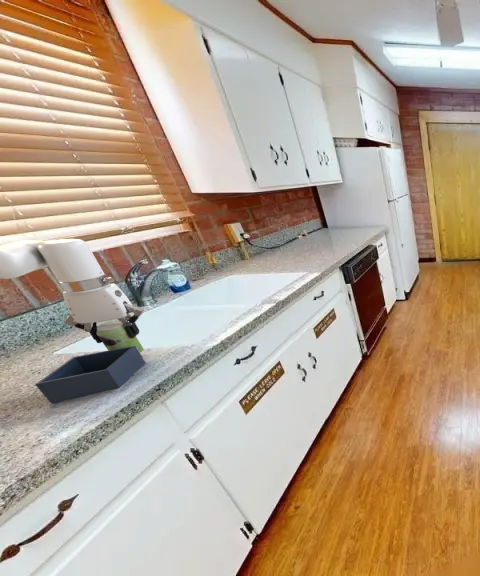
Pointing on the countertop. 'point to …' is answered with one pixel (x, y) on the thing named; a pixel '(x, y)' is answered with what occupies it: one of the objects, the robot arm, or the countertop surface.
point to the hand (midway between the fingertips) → (118, 337)
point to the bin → (91, 374)
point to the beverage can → (116, 336)
